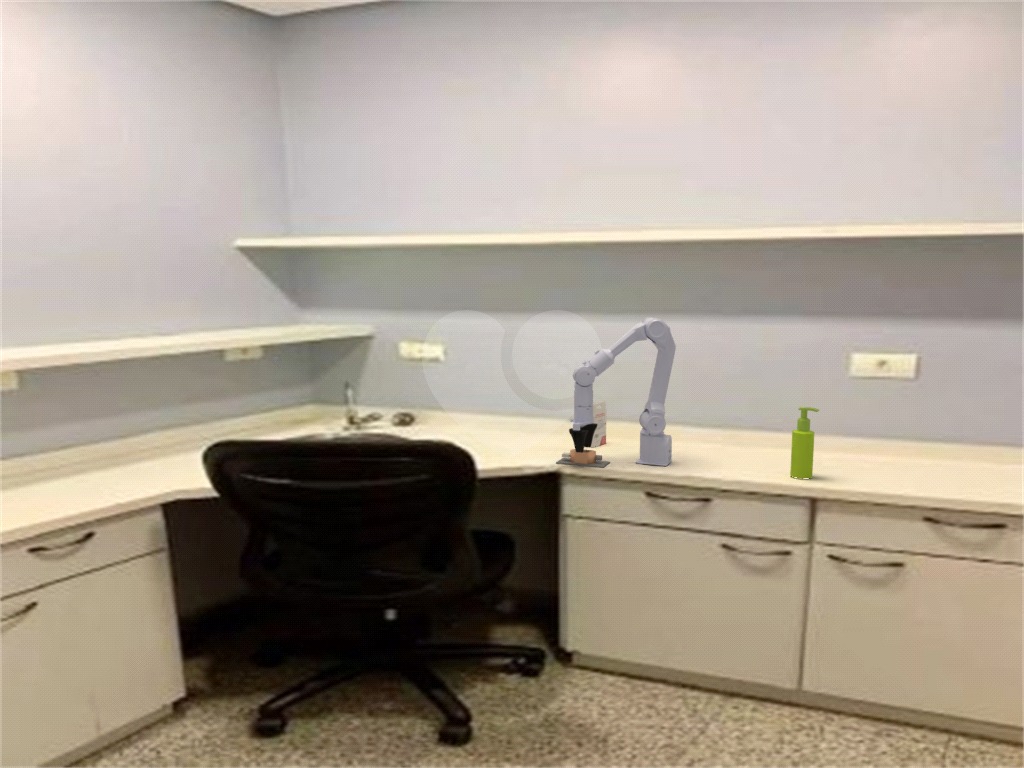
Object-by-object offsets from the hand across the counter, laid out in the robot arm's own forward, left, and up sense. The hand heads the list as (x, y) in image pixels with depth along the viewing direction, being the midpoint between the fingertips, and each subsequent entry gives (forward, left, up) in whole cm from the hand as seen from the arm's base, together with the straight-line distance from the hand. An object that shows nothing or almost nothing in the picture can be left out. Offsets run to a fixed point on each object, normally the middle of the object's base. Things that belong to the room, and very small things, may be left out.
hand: (583, 449), depth 252 cm
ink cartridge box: (+5, -27, -4) cm, 28 cm away
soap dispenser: (-63, -7, -4) cm, 63 cm away
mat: (0, 0, -4) cm, 4 cm away
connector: (0, 0, -4) cm, 4 cm away
